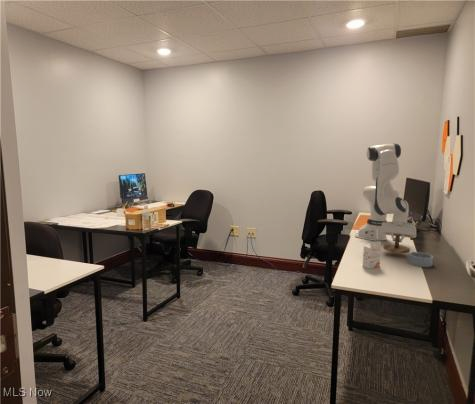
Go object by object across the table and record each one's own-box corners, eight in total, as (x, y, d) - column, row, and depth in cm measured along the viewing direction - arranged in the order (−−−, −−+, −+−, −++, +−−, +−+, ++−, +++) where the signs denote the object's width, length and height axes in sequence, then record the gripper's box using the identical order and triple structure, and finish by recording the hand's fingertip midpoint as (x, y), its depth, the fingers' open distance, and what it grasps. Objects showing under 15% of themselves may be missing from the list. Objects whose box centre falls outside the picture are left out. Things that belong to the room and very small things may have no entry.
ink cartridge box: (372, 264, 194) (374, 239, 192) (379, 266, 190) (382, 241, 188) (361, 266, 190) (363, 240, 188) (368, 269, 186) (371, 242, 184)
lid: (382, 250, 210) (383, 236, 209) (384, 244, 223) (385, 231, 222) (409, 254, 203) (410, 239, 202) (410, 248, 216) (411, 234, 215)
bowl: (408, 264, 196) (409, 256, 195) (409, 259, 206) (410, 251, 205) (432, 268, 190) (433, 259, 189) (432, 262, 200) (432, 254, 199)
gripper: (381, 218, 221) (378, 236, 214) (417, 221, 212) (415, 240, 205) (382, 223, 226) (379, 241, 219) (417, 227, 216) (415, 246, 209)
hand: (397, 241), depth 212 cm, fingers closed on lid, 2 cm apart
